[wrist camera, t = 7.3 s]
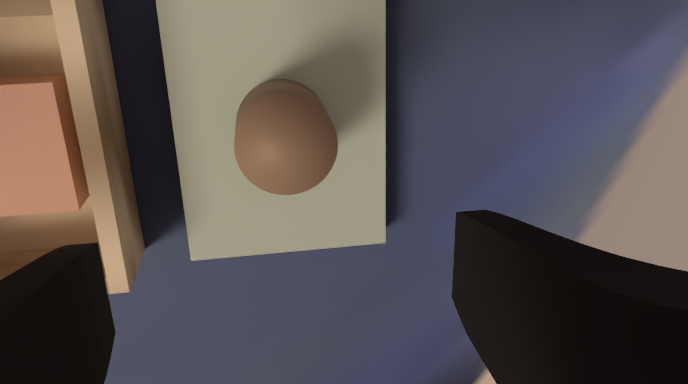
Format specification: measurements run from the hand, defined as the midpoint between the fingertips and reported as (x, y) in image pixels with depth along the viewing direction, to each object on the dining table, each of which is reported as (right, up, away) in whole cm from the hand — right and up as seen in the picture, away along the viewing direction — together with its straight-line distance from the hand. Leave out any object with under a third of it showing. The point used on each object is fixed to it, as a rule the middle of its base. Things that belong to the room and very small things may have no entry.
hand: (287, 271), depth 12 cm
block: (-9, +3, +7) cm, 12 cm away
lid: (-1, +4, +9) cm, 10 cm away
